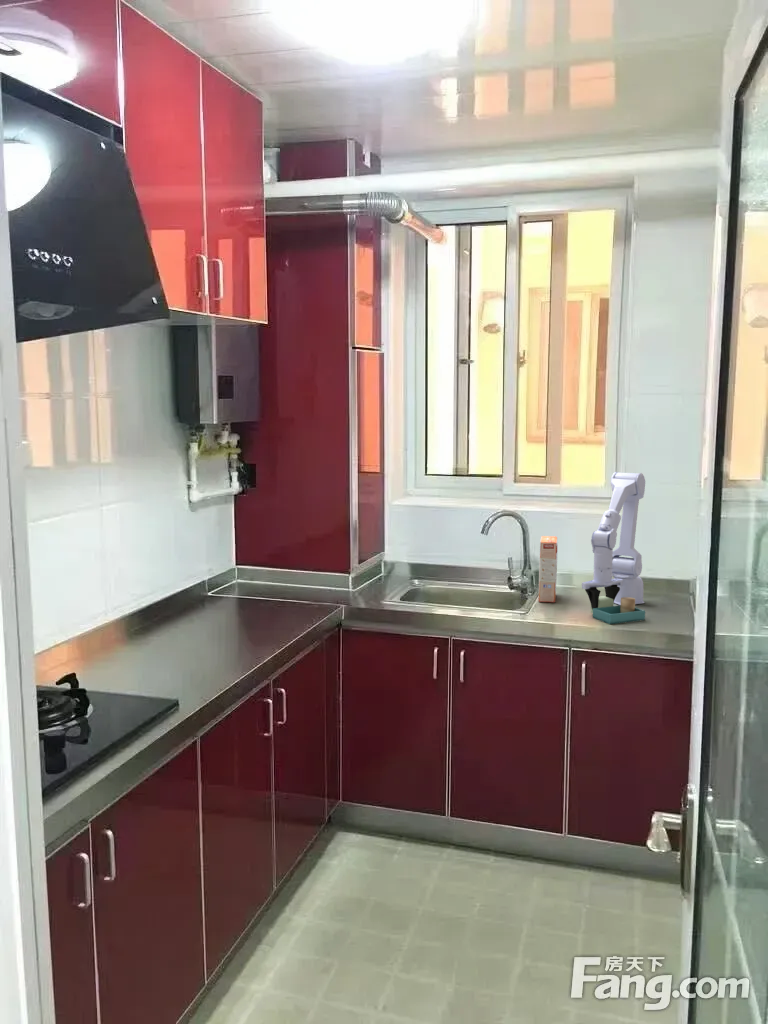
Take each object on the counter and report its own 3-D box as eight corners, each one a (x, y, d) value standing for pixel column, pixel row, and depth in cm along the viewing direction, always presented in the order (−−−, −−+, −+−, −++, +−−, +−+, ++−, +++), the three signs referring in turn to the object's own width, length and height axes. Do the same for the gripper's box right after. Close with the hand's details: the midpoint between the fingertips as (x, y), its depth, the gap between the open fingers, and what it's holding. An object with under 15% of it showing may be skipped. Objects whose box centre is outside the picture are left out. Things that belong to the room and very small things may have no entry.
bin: (626, 613, 281) (626, 604, 281) (644, 620, 273) (645, 610, 272) (592, 617, 276) (592, 608, 276) (610, 624, 268) (610, 614, 267)
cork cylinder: (628, 613, 279) (628, 596, 278) (637, 616, 275) (638, 599, 274) (617, 615, 277) (617, 598, 276) (626, 618, 273) (627, 600, 272)
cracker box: (556, 603, 296) (557, 542, 293) (538, 602, 297) (539, 541, 295) (556, 594, 310) (557, 535, 307) (539, 593, 311) (540, 535, 308)
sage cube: (603, 611, 285) (603, 595, 284) (613, 614, 280) (613, 599, 280) (590, 612, 283) (591, 597, 282) (599, 615, 278) (600, 600, 278)
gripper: (591, 571, 273) (590, 614, 275) (629, 567, 279) (628, 609, 280) (578, 567, 280) (577, 609, 281) (615, 564, 285) (614, 604, 287)
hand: (601, 609), depth 281 cm, fingers closed on sage cube, 5 cm apart
